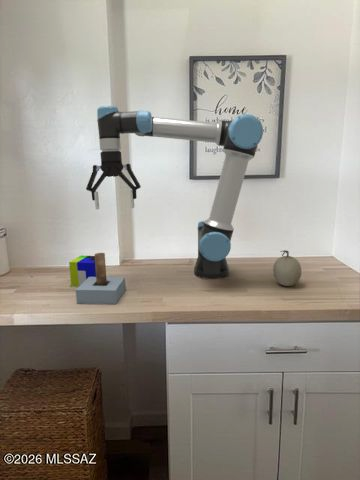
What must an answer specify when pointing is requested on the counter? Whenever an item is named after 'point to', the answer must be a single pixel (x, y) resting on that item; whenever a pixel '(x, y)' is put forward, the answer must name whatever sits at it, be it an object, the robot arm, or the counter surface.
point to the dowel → (100, 269)
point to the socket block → (100, 291)
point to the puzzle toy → (82, 269)
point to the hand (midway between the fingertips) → (115, 208)
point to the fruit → (287, 270)
